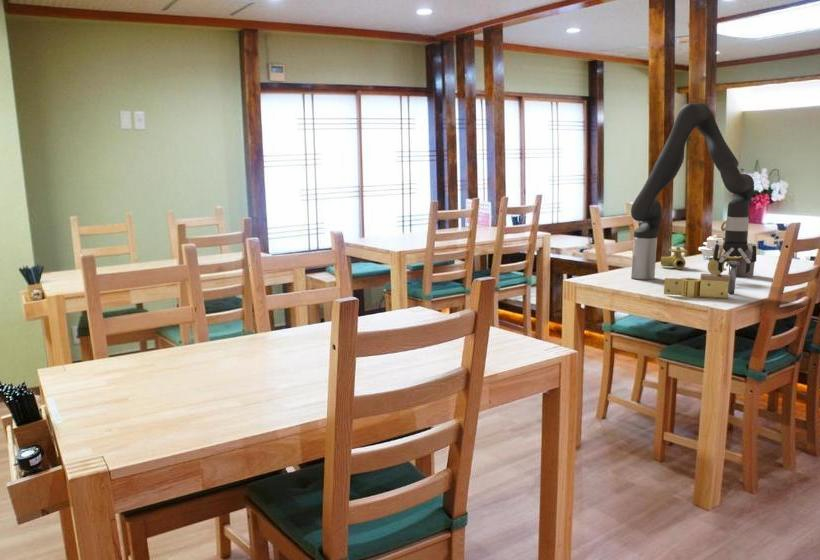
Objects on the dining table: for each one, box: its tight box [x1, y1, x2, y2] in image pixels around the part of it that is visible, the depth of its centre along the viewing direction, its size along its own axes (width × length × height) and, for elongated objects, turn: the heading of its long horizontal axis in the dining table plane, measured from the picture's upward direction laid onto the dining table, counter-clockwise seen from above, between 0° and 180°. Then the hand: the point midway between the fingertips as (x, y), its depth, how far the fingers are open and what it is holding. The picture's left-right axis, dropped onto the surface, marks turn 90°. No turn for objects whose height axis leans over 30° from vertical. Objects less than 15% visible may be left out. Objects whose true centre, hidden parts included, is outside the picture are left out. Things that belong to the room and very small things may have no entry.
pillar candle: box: [727, 242, 757, 278], centre depth 286 cm, size 10×10×15 cm
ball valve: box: [660, 245, 688, 270], centre depth 307 cm, size 13×10×10 cm
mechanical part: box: [698, 234, 725, 260], centre depth 331 cm, size 11×12×12 cm
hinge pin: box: [728, 261, 739, 295], centre depth 250 cm, size 4×4×12 cm
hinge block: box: [663, 273, 729, 300], centre depth 247 cm, size 22×7×8 cm, turn 72°
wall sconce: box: [707, 220, 741, 276], centre depth 271 cm, size 14×10×25 cm
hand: (733, 272), depth 249 cm, fingers open, 8 cm apart
